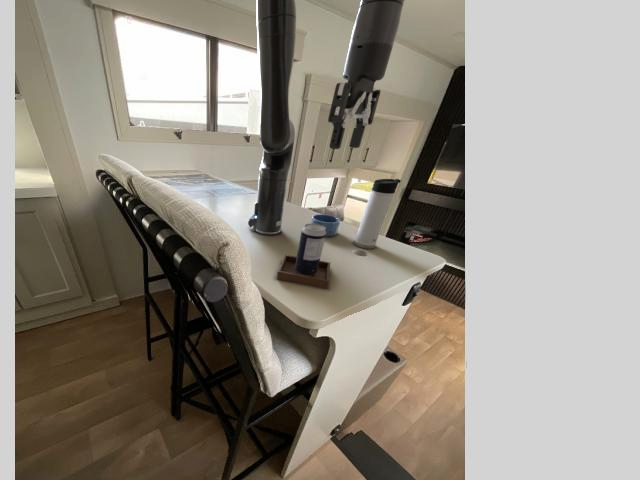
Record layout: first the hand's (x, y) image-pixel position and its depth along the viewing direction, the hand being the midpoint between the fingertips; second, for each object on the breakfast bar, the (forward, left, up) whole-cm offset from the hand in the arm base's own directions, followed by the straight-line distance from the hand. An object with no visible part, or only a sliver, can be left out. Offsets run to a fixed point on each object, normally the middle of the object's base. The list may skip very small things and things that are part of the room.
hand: (344, 148), depth 55 cm
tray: (-3, -9, -28) cm, 29 cm away
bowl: (0, +24, -28) cm, 37 cm away
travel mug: (+14, +18, -28) cm, 36 cm away
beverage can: (-2, -9, -27) cm, 29 cm away
